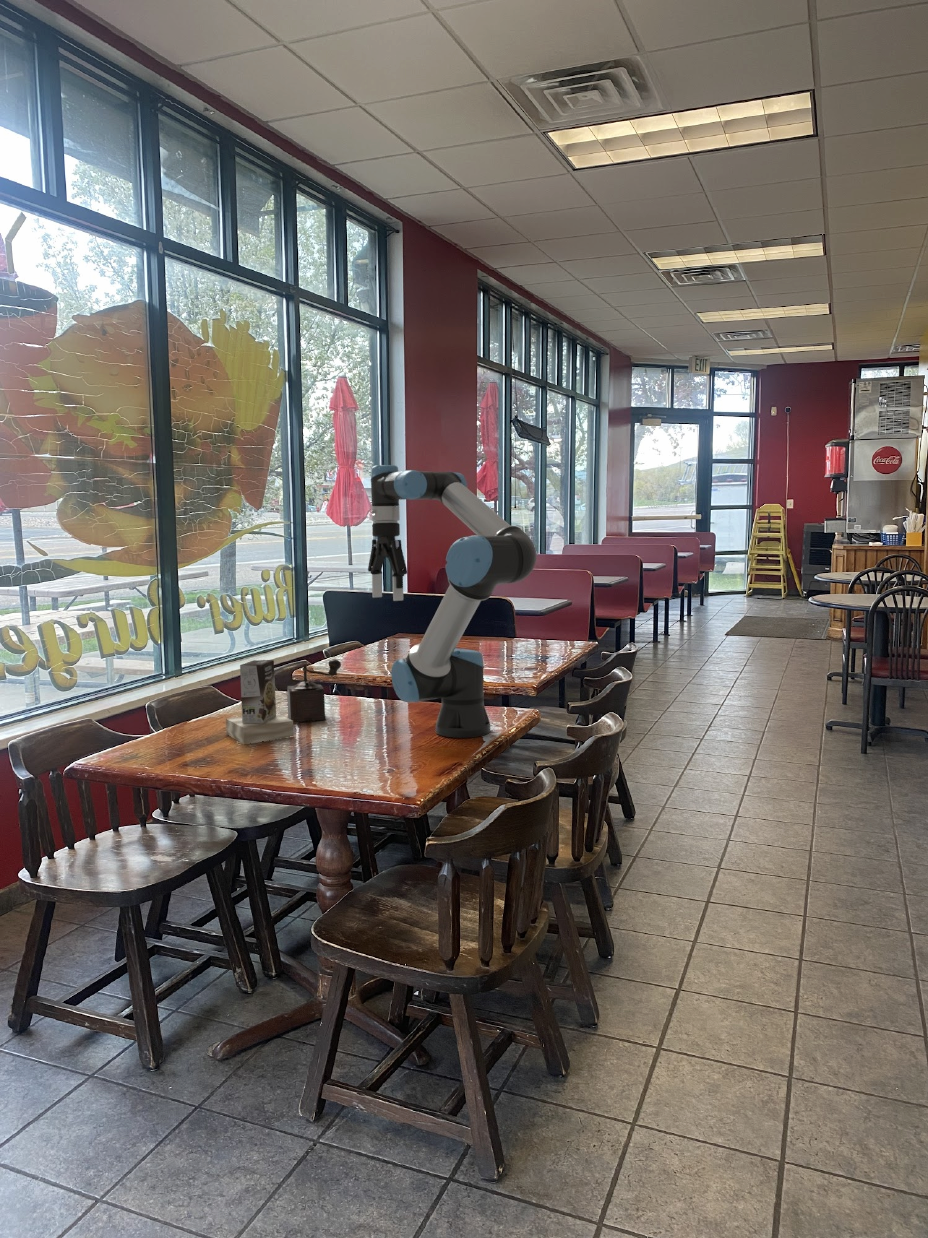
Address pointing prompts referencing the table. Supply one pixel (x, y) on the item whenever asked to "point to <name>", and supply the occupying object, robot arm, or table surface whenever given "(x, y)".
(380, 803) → the table surface
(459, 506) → the robot arm
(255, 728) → the birch block
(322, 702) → the coffee grinder
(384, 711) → the table surface
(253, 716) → the coffee box
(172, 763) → the table surface
